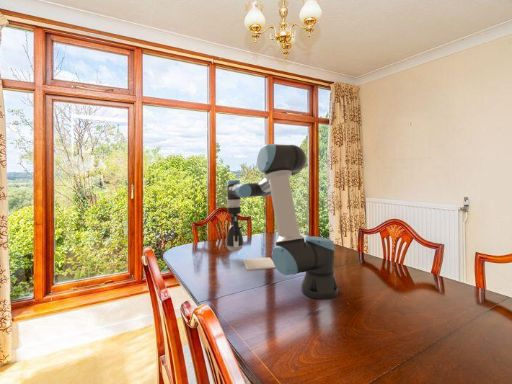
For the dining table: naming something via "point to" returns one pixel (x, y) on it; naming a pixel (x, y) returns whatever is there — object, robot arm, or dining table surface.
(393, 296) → the dining table surface
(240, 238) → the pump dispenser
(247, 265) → the trivet
